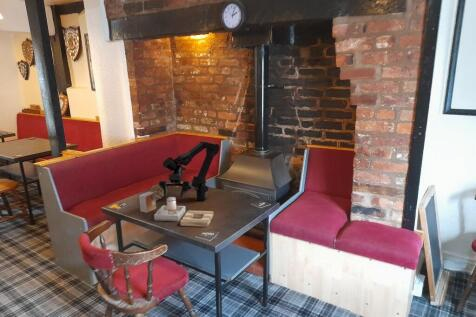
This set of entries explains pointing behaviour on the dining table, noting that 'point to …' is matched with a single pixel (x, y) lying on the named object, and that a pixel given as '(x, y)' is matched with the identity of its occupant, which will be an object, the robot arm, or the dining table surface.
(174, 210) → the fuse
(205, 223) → the socket block
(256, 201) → the dining table surface
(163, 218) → the tray
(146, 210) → the small box
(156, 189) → the pine cone
